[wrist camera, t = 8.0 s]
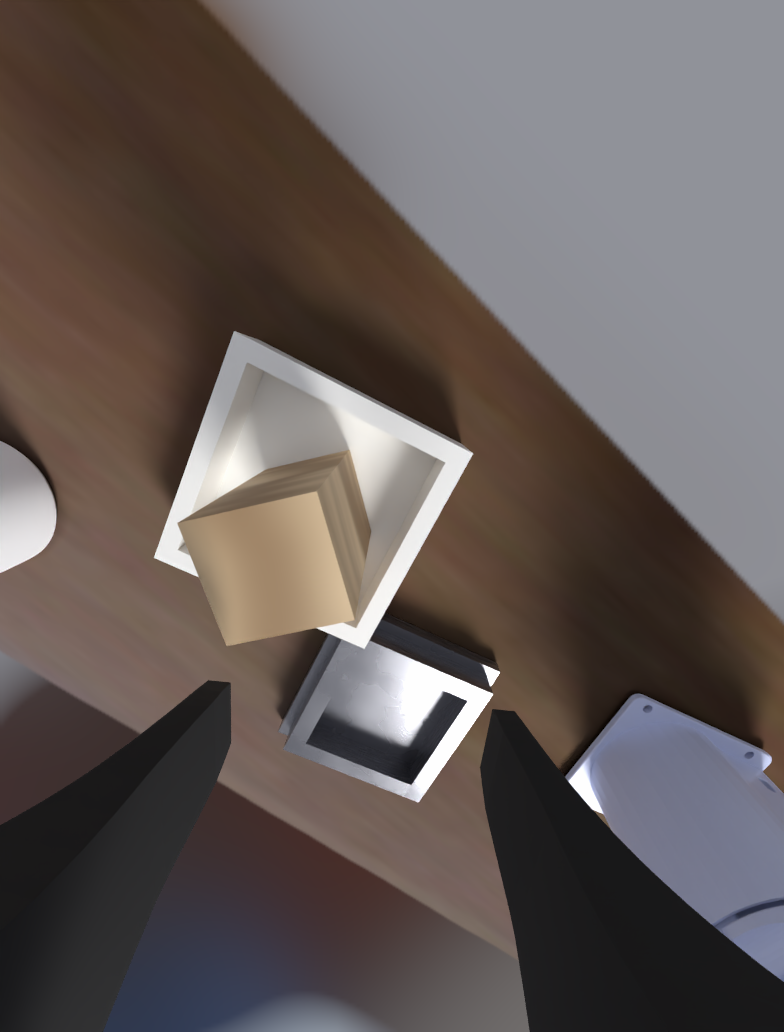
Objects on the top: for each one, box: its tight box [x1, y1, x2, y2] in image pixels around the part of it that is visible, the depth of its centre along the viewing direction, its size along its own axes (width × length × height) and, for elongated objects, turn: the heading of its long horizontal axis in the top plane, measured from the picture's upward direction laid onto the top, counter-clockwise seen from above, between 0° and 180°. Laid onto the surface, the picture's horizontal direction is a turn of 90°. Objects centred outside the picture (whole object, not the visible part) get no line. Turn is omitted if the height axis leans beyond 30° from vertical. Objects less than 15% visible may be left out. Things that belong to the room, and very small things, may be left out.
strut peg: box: [177, 450, 371, 646], centre depth 16 cm, size 4×4×8 cm
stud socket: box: [278, 613, 500, 802], centre depth 22 cm, size 9×9×2 cm
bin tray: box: [154, 331, 473, 649], centre depth 18 cm, size 10×10×3 cm
